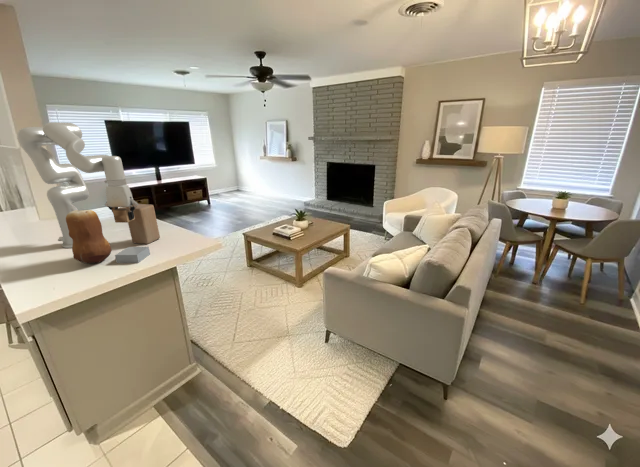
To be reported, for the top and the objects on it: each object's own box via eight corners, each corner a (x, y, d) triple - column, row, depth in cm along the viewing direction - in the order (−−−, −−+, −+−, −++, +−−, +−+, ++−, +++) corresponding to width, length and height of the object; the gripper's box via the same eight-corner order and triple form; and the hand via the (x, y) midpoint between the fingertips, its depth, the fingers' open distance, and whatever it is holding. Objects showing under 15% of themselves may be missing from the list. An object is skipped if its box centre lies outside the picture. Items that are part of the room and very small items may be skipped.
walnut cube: (115, 222, 140) (112, 210, 138) (123, 218, 146) (120, 207, 144) (127, 222, 140) (125, 210, 138) (135, 219, 146) (132, 207, 144)
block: (147, 244, 155) (139, 208, 148) (132, 243, 156) (123, 208, 150) (161, 238, 164) (154, 204, 157) (146, 237, 166) (138, 203, 159)
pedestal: (116, 263, 133) (114, 255, 131) (130, 254, 142) (128, 247, 141) (138, 262, 133) (136, 254, 132) (150, 254, 142) (148, 246, 141)
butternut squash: (104, 254, 143) (91, 205, 135) (119, 259, 137) (105, 208, 128) (71, 264, 132) (54, 211, 123) (85, 271, 125) (67, 215, 117)
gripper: (92, 184, 133) (102, 221, 139) (130, 184, 133) (138, 221, 139) (103, 181, 140) (112, 217, 146) (139, 181, 140) (146, 217, 146)
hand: (125, 218), depth 142 cm, fingers closed on walnut cube, 6 cm apart
